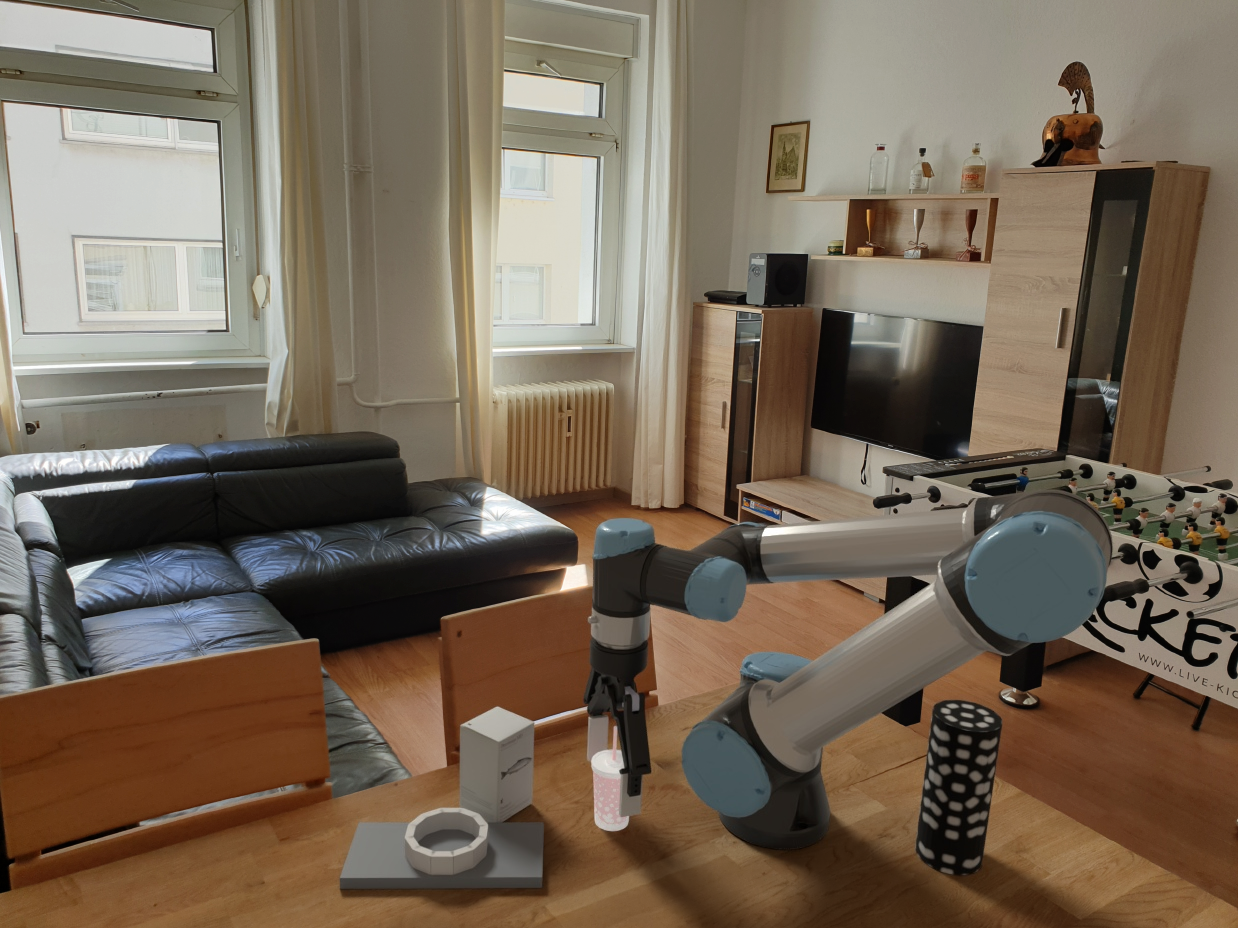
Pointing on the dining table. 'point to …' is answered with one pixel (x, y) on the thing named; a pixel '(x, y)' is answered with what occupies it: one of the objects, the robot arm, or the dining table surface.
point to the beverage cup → (608, 788)
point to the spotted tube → (958, 786)
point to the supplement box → (496, 764)
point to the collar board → (445, 853)
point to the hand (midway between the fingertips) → (612, 785)
